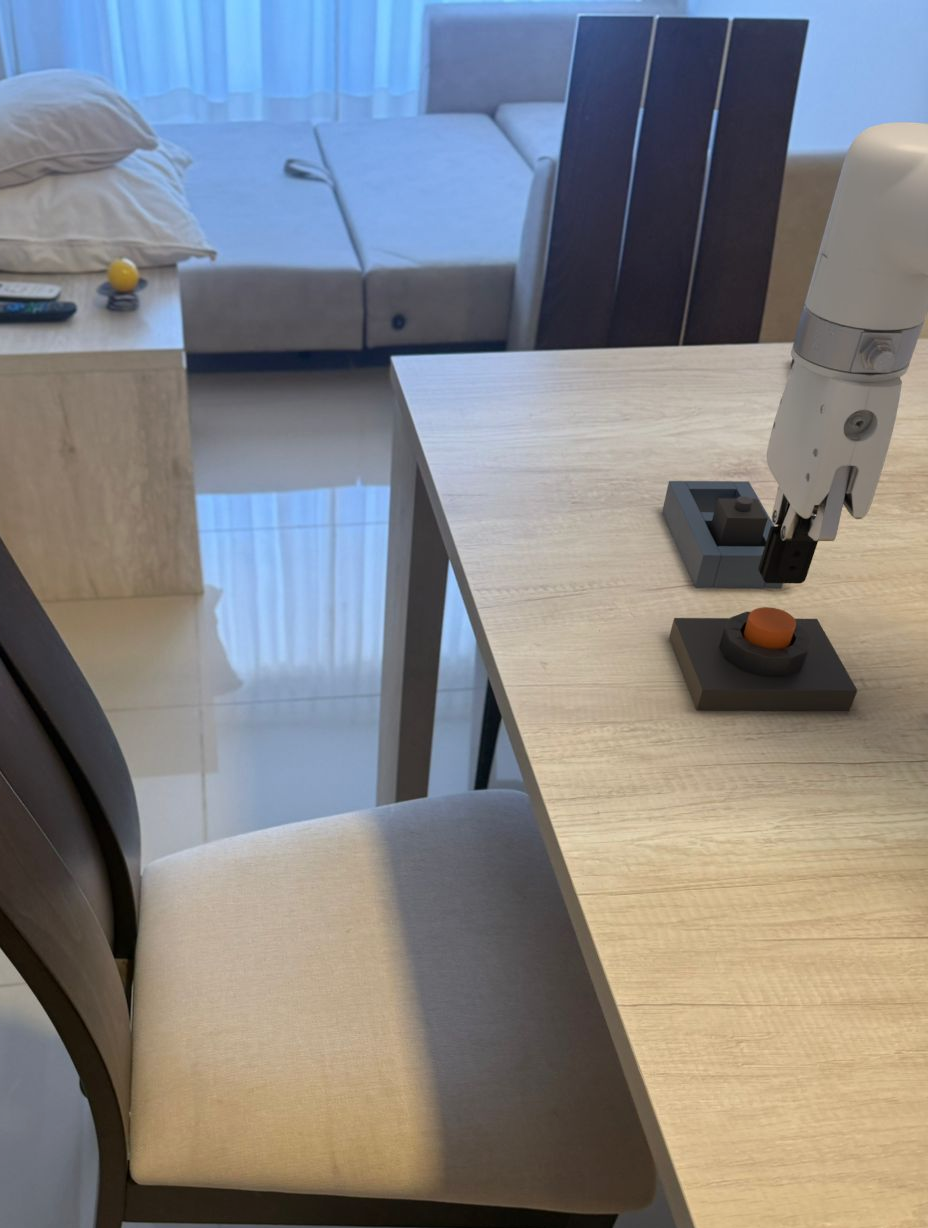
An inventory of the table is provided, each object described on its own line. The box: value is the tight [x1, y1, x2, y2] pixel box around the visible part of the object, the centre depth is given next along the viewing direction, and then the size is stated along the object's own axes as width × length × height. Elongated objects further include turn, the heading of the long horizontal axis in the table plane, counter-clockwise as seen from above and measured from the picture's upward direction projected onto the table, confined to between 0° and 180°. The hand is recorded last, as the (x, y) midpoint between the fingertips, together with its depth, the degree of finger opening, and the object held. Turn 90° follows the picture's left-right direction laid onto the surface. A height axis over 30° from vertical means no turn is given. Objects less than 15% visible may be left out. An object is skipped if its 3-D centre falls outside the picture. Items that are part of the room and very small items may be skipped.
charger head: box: [709, 496, 768, 546], centre depth 104 cm, size 4×4×7 cm
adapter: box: [661, 480, 784, 589], centre depth 108 cm, size 8×14×4 cm, turn 0°
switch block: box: [668, 611, 858, 712], centre depth 93 cm, size 12×10×4 cm
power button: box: [744, 606, 796, 649], centre depth 91 cm, size 4×4×2 cm
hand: (780, 577), depth 89 cm, fingers closed
